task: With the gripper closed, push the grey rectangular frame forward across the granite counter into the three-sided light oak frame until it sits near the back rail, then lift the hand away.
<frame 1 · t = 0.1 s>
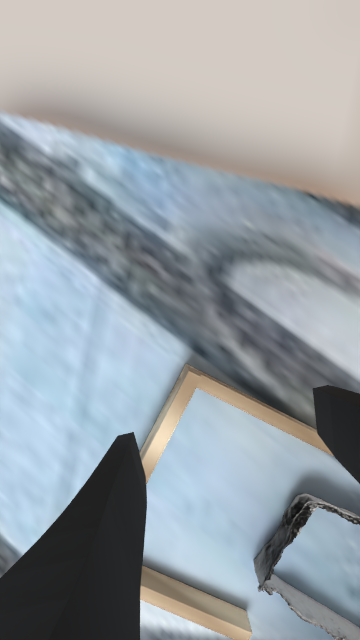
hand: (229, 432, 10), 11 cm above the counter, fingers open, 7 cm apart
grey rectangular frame: (333, 547, 22), on the counter
oak frame: (213, 495, 21), on the counter
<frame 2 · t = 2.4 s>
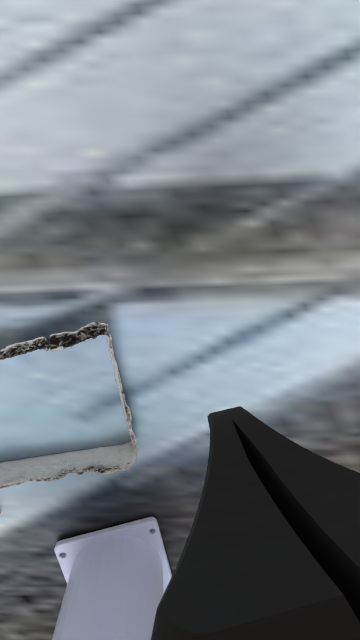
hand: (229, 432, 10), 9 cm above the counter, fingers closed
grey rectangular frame: (36, 397, 19), on the counter
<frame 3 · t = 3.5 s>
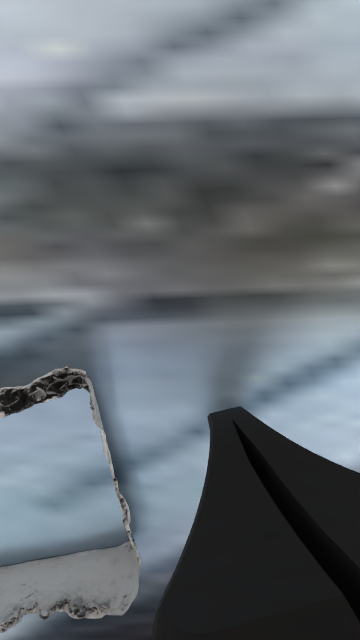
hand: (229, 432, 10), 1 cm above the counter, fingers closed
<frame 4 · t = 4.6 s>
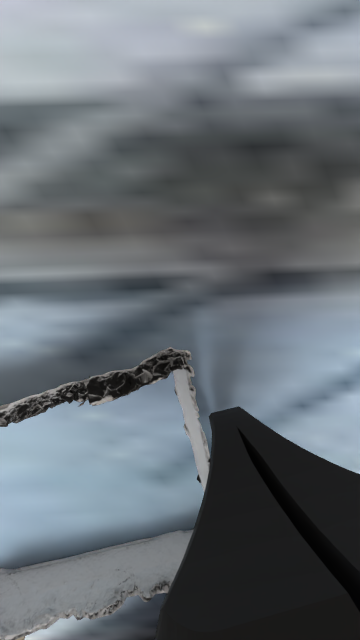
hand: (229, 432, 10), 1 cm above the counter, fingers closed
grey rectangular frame: (63, 467, 12), on the counter, touching gripper
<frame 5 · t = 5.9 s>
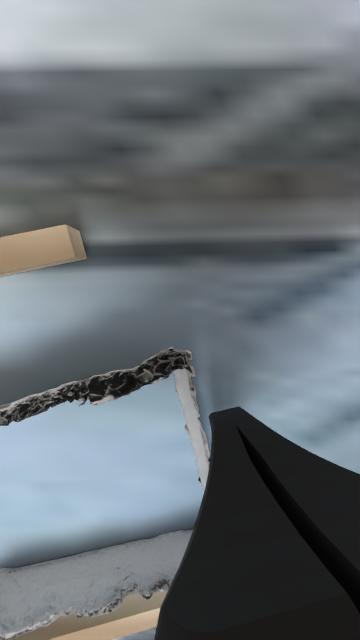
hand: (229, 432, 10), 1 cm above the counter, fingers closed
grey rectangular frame: (64, 466, 12), on the counter, touching gripper
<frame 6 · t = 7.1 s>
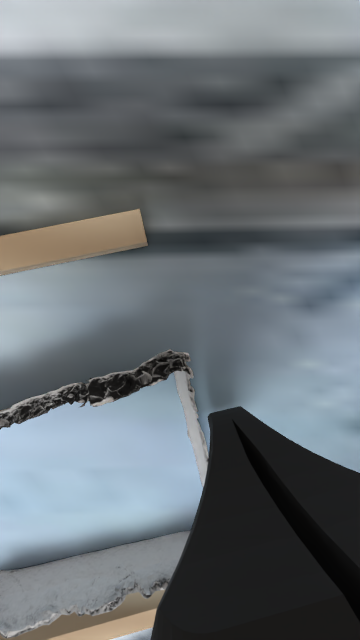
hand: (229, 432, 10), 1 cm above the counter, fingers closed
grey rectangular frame: (64, 466, 12), on the counter
oak frame: (24, 460, 11), on the counter
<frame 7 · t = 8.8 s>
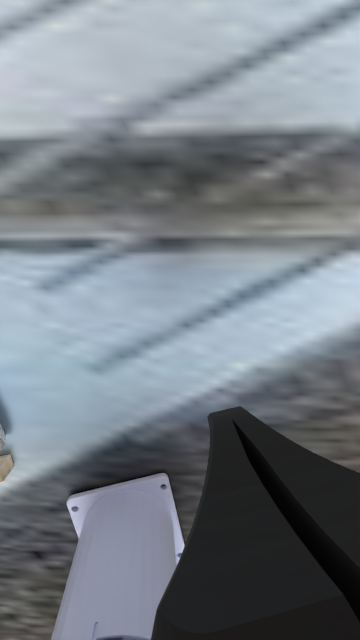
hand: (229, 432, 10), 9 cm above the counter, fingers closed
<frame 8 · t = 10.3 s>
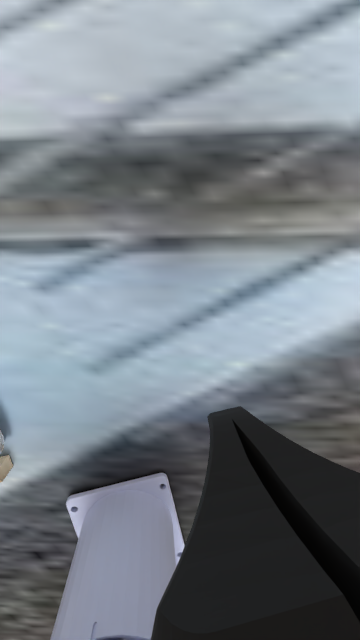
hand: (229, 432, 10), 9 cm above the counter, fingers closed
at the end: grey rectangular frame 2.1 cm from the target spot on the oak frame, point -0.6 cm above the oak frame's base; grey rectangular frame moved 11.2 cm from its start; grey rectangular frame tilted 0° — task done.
